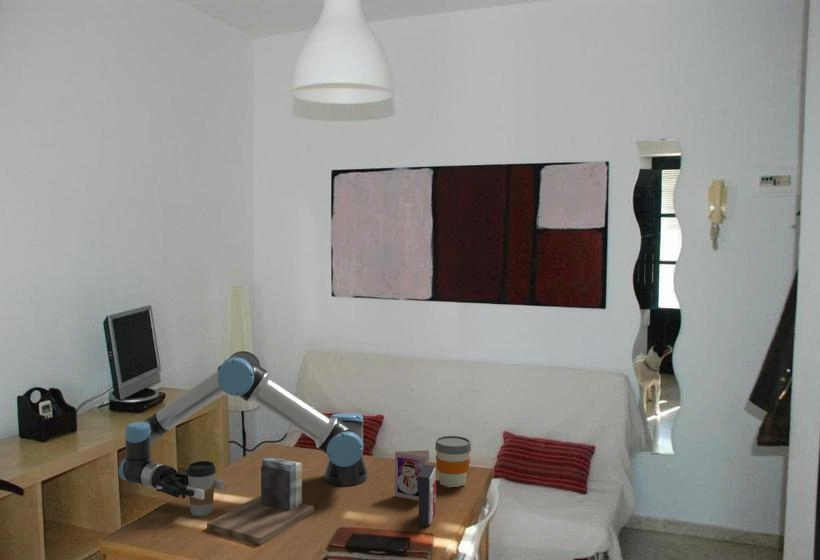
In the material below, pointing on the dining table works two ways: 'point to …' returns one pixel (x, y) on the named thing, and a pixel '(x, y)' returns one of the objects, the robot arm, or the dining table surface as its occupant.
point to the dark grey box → (426, 494)
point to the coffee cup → (202, 486)
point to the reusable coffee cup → (452, 460)
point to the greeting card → (409, 472)
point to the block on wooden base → (267, 505)
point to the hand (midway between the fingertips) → (213, 490)
